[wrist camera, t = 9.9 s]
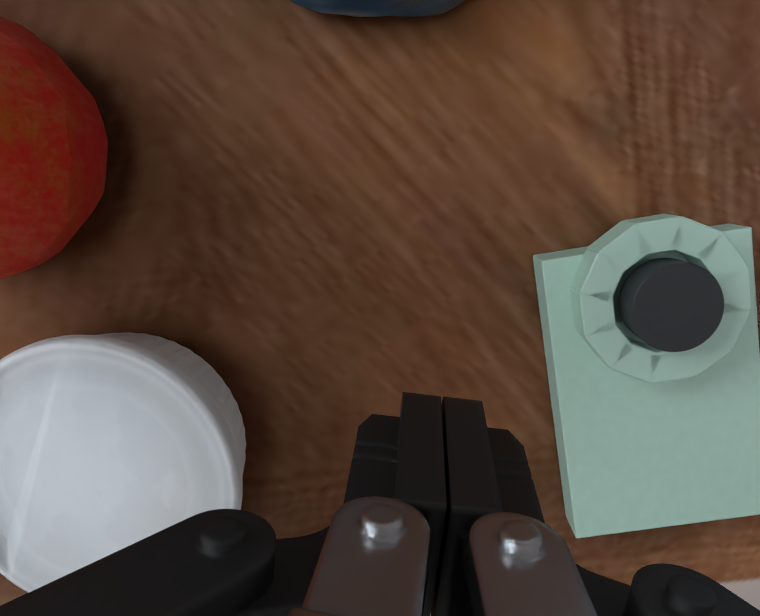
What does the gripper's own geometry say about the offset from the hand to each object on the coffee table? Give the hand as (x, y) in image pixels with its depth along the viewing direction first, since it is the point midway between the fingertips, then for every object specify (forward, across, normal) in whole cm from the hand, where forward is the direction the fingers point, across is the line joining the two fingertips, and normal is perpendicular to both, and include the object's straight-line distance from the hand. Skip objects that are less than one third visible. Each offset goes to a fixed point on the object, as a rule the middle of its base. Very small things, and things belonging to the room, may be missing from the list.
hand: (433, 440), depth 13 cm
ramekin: (+15, +12, +10) cm, 21 cm away
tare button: (+13, -9, 0) cm, 16 cm away
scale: (+16, -10, +4) cm, 19 cm away
